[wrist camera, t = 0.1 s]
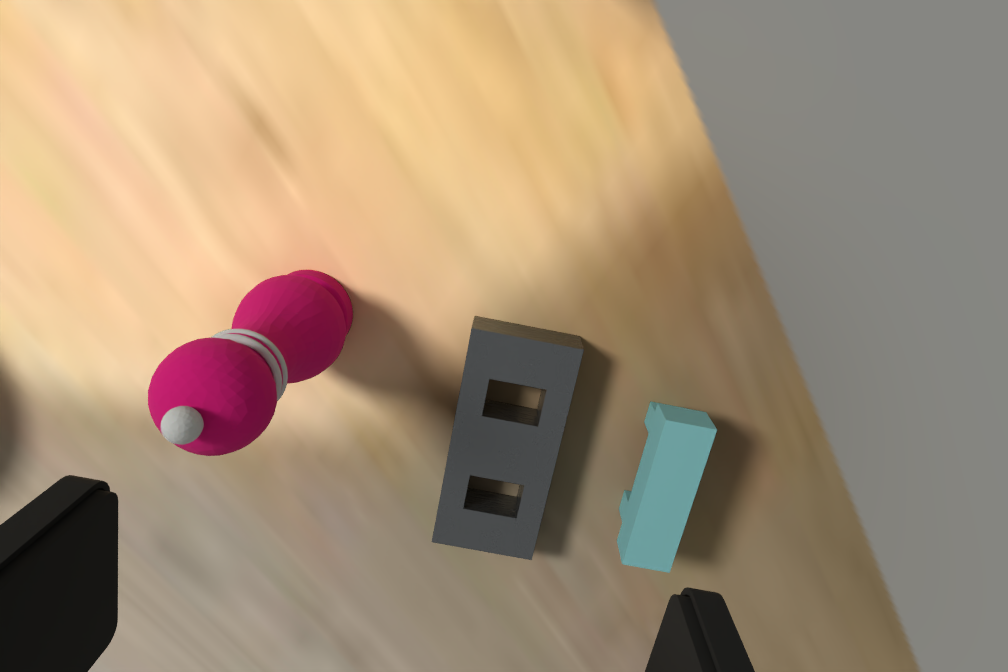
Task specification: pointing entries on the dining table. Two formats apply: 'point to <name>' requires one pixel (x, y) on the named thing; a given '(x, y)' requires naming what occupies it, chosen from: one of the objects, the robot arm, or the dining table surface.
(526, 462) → the rail
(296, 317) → the pepper mill
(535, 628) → the dining table surface
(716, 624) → the robot arm
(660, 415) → the clip
